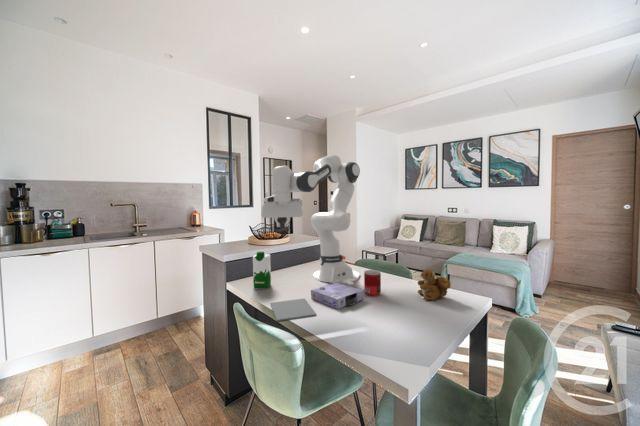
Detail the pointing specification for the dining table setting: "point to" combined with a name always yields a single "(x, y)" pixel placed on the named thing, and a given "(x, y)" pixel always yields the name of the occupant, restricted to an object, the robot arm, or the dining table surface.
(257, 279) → the milk carton
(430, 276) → the stuffed squirrel
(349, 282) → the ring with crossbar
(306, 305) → the mat
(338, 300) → the cake pan box
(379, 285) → the canned food
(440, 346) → the dining table surface
